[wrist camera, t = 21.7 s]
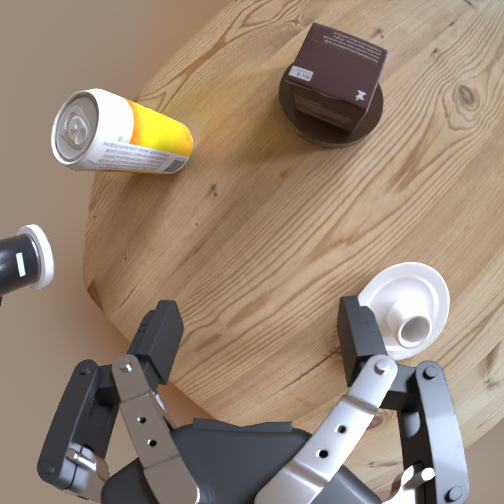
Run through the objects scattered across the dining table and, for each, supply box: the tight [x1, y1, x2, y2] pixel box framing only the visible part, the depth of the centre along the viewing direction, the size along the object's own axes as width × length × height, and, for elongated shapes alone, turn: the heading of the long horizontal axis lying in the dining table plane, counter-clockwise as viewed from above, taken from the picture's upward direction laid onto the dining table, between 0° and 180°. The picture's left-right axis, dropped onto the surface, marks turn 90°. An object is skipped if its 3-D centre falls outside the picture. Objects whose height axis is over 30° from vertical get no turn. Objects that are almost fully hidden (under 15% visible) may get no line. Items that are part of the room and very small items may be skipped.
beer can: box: [51, 89, 193, 175], centre depth 21 cm, size 6×6×15 cm
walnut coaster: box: [279, 62, 384, 148], centre depth 23 cm, size 10×10×2 cm
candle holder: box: [358, 262, 450, 361], centre depth 25 cm, size 12×12×4 cm
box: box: [285, 22, 388, 133], centre depth 18 cm, size 6×6×7 cm
